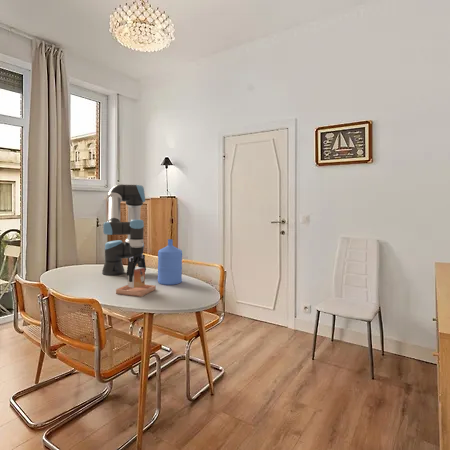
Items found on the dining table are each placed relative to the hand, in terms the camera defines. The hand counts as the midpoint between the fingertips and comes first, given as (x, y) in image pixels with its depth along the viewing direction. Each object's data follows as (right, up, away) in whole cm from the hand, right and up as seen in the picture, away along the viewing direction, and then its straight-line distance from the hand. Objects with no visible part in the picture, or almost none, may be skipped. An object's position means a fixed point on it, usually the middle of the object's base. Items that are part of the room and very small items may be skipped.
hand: (136, 285), depth 189 cm
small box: (0, -1, 0) cm, 1 cm away
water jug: (+15, -3, +25) cm, 29 cm away
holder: (0, -4, 0) cm, 4 cm away
